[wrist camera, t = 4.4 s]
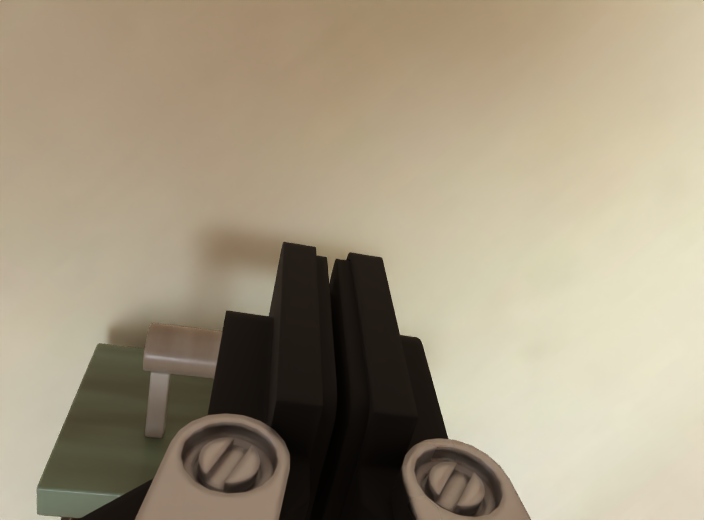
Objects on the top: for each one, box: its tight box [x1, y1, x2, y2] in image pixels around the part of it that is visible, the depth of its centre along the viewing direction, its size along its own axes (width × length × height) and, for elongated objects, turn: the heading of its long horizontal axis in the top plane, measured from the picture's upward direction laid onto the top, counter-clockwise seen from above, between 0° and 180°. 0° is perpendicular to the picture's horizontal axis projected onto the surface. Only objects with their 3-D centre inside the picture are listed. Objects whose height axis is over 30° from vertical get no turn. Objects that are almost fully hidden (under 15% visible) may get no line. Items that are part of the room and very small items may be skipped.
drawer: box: [37, 323, 222, 520], centre depth 26 cm, size 17×11×7 cm, turn 168°
